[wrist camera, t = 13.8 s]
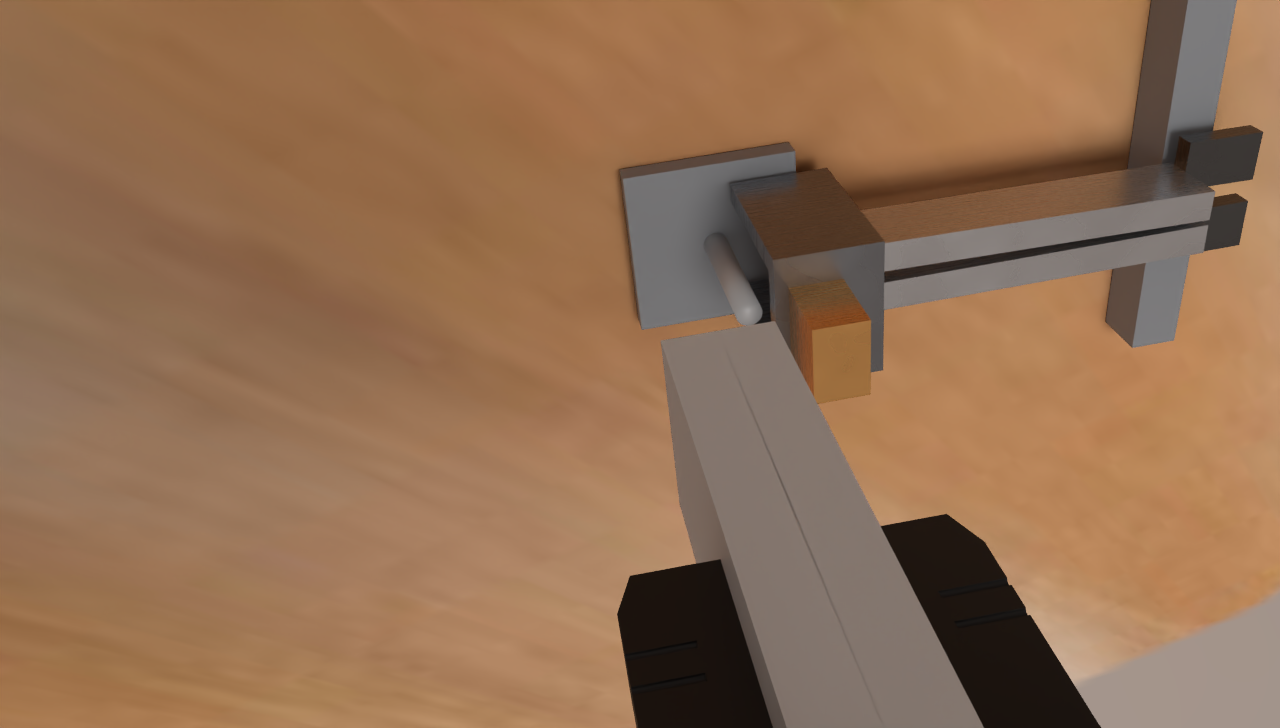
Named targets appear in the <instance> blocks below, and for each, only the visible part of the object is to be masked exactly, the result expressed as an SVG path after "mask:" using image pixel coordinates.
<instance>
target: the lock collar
mask: <svg viewBox="0 0 1280 728" xmlns="http://www.w3.org/2000/svg"><path fill="white" fill-rule="evenodd" d="M730 194H731V203H732V205H733V206H734V208H735V210H736V212H737V214H738V216H739V217H740V219H741V221H742V223H743V225H744V227H745V228H746V230H747V232H748V234H749V236H750V237H751V239H752V241H753V243H754V245H755V247H756V248H757V250H758V252H759V254H760V256H761V258H762V259H763V261H764V263H765V265H766V267H767V269H768V272H769V279H765V280H759V281H753V282H749V284H750V286H751V288H752V290H753V292H754V294H755V296H756V298H757V300H758V302H759V304H760V306H761V308H762V311H763V313H762V317H761V319H760V320H759V321H758V322H757V323H755V324H761V323H766V322H772V321H775V322H776V324H777V326H778V328H779V330H780V332H781V334H782V336H783V338H784V340H785V342H786V344H787V346H788V348H789V350H790V351H791V353H792V355H793V357H794V359H795V361H796V363H797V365H798V367H799V369H800V371H801V373H802V375H803V377H804V379H805V381H806V383H807V385H808V386H809V388H810V390H811V392H812V394H813V396H814V398H815V400H816V402H817V404H820V403H826V402H831V401H837V400H842V399H848V398H854V397H859V396H865V395H870V390H871V372H875V371H881V370H883V332H884V264H885V241H884V240H883V238H882V237H881V236H880V235H879V233H878V232H877V231H876V229H875V228H874V227H873V226H872V224H871V223H870V222H869V221H868V219H867V218H866V217H865V215H864V214H863V213H862V212H861V210H860V209H859V208H858V207H857V205H856V204H855V203H854V201H853V200H852V199H851V198H850V196H849V195H848V194H847V193H846V191H845V190H844V189H843V187H842V186H841V185H840V184H839V182H838V181H837V180H836V179H835V177H834V176H833V175H832V173H831V172H830V171H829V170H828V168H822V169H816V170H810V171H804V172H798V173H792V174H786V175H780V176H773V177H767V178H761V179H755V180H749V181H743V182H737V183H731V184H730ZM755 324H753V325H755Z"/></svg>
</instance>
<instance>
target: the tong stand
mask: <svg viewBox="0 0 1280 728" xmlns="http://www.w3.org/2000/svg"><path fill="white" fill-rule="evenodd" d="M1236 2H1237V0H1151V7H1150V14H1149V21H1148V28H1147V35H1146V42H1145V49H1144V56H1143V63H1142V70H1141V77H1140V84H1139V91H1138V98H1137V105H1136V112H1135V119H1134V126H1133V133H1132V140H1131V147H1130V154H1129V161H1128V168H1127V169H1132V168H1139V167H1145V166H1152V165H1158V164H1165V163H1171V162H1172V163H1173V164H1174V163H1175V157H1176V152H1177V146H1178V141H1179V136H1183V135H1189V134H1196V133H1202V132H1209V131H1213V126H1214V121H1215V115H1216V110H1217V104H1218V99H1219V94H1220V88H1221V83H1222V77H1223V72H1224V67H1225V61H1226V56H1227V50H1228V45H1229V40H1230V34H1231V29H1232V23H1233V18H1234V12H1235V7H1236ZM792 173H796V160H795V150H794V149H793V147H792V146H791V145H790V143H789V142H787V143H781V144H775V145H769V146H762V147H756V148H750V149H744V150H738V151H731V152H725V153H719V154H713V155H707V156H700V157H694V158H688V159H682V160H676V161H669V162H663V163H657V164H651V165H645V166H638V167H632V168H626V169H620V178H621V186H622V193H623V201H624V209H625V217H626V225H627V233H628V241H629V249H630V256H631V264H632V272H633V280H634V288H635V296H636V304H637V311H638V319H639V322H640V325H641V329H642V330H644V329H650V328H655V327H661V326H667V325H673V324H679V323H684V322H690V321H696V320H702V319H708V318H714V317H719V316H725V315H731V314H735V316H736V319H737V321H738V322H739V323H740V324H742V325H746V326H749V325H753V324H755V323H757V322H758V321H759V320H760V319H761V317H762V313H763V311H762V308H761V306H760V304H759V302H758V300H757V298H756V296H755V294H754V292H753V290H752V288H751V286H750V284H749V282H753V281H759V280H765V279H769V272H768V269H767V267H766V265H765V263H764V261H763V259H762V258H761V256H760V254H759V252H758V250H757V248H756V247H755V245H754V243H753V241H752V239H751V237H750V236H749V234H748V232H747V230H746V228H745V227H744V225H743V223H742V221H741V219H740V217H739V216H738V214H737V212H736V210H735V208H734V206H733V205H732V203H731V194H730V184H731V183H737V182H743V181H749V180H755V179H761V178H767V177H773V176H780V175H786V174H792ZM1189 256H1190V255H1187V256H1181V257H1176V258H1170V259H1165V260H1159V261H1153V262H1148V263H1142V264H1137V265H1131V266H1126V267H1120V268H1114V269H1113V273H1112V280H1111V287H1110V294H1109V301H1108V308H1107V315H1106V323H1107V324H1108V325H1109V326H1110V327H1111V328H1112V329H1113V330H1114V331H1115V332H1116V333H1117V334H1119V335H1120V336H1121V337H1122V338H1123V339H1124V340H1125V341H1126V342H1127V343H1128V344H1129V345H1130V346H1131V347H1132V348H1134V347H1139V346H1145V345H1151V344H1156V343H1162V342H1167V341H1173V340H1174V337H1175V332H1176V327H1177V321H1178V316H1179V310H1180V305H1181V299H1182V294H1183V289H1184V283H1185V278H1186V272H1187V267H1188V262H1189Z"/></svg>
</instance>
